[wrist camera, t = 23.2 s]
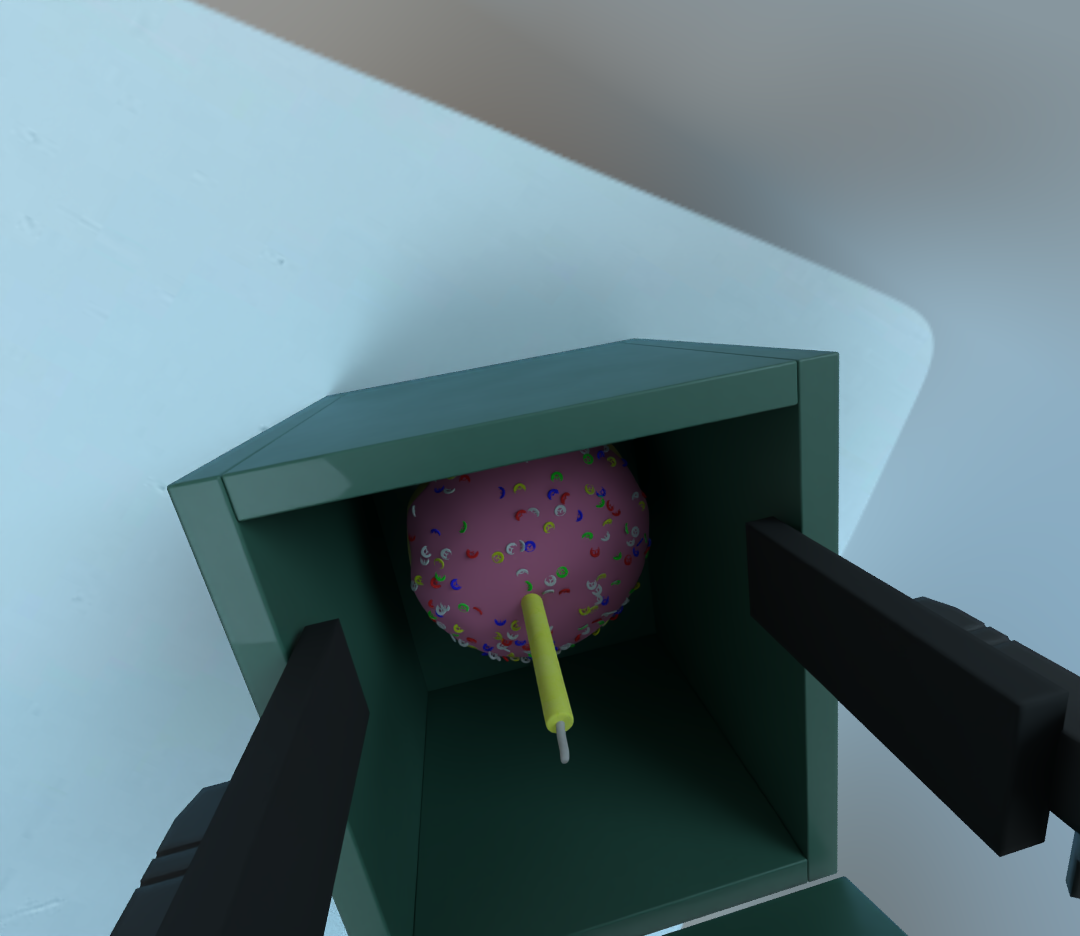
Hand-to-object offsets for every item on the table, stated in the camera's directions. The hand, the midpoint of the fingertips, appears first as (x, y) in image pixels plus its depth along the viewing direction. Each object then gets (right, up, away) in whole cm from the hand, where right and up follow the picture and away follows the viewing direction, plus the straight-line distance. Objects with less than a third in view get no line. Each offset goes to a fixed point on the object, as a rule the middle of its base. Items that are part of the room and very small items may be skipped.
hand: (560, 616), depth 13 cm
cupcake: (-2, +2, +9) cm, 10 cm away
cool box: (-2, +1, +12) cm, 13 cm away
